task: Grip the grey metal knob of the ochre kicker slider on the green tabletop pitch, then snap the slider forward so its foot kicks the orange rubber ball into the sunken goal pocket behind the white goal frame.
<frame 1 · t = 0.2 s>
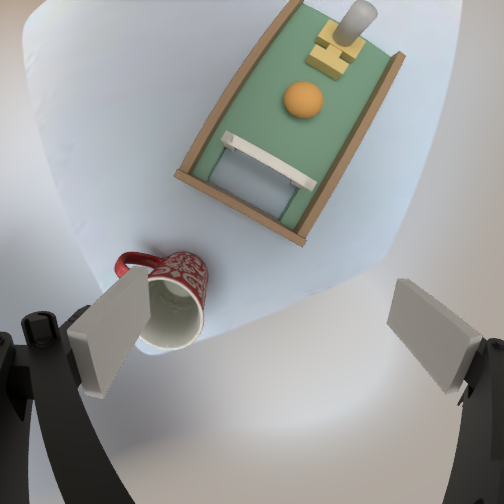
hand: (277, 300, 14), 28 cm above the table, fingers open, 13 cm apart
kicker: (344, 37, 28), point 8 cm above the table, slide at 0.0 cm
pitch: (300, 101, 37), on the table
ball: (303, 99, 33), point 4 cm above the table, touching pitch
mug: (176, 266, 43), on the table
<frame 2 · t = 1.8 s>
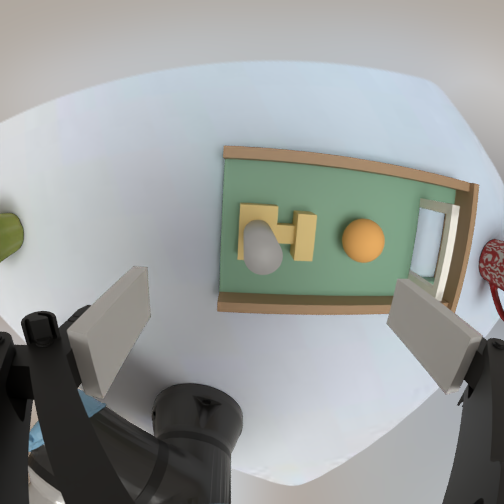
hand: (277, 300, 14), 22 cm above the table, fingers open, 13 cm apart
kicker: (280, 241, 28), point 8 cm above the table, slide at 0.0 cm
pitch: (342, 232, 36), on the table
ball: (363, 240, 32), point 4 cm above the table, touching pitch
plant pot: (12, 231, 34), on the table
mug: (486, 267, 38), on the table
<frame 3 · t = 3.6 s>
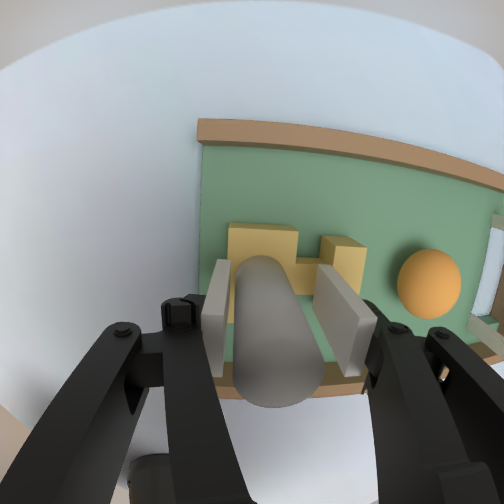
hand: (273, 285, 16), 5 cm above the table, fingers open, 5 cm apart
kicker: (305, 305, 14), point 8 cm above the table, slide at -0.1 cm
pitch: (390, 264, 22), on the table
ball: (429, 284, 18), point 4 cm above the table, touching pitch
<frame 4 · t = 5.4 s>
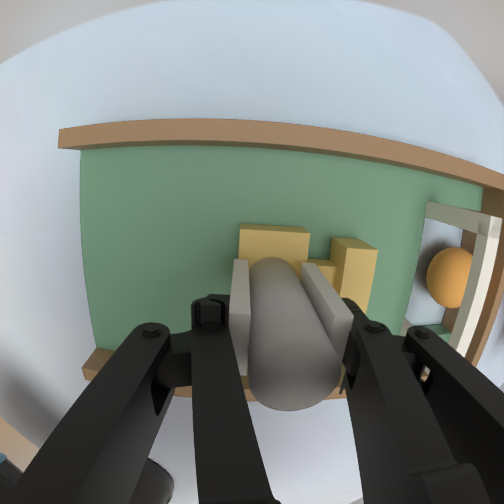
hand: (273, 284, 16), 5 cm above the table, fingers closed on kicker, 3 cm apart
kicker: (318, 307, 14), point 8 cm above the table, slide at 9.5 cm, touching gripper
pitch: (286, 261, 22), on the table
ball: (453, 277, 20), point 2 cm above the table, tilted 69°
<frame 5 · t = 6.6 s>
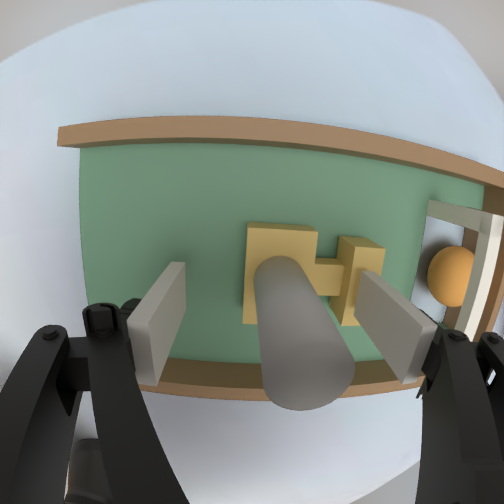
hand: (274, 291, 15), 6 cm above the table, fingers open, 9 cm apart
kicker: (327, 306, 14), point 8 cm above the table, slide at 9.9 cm
pitch: (286, 260, 21), on the table
ball: (454, 276, 20), point 2 cm above the table, tilted 70°
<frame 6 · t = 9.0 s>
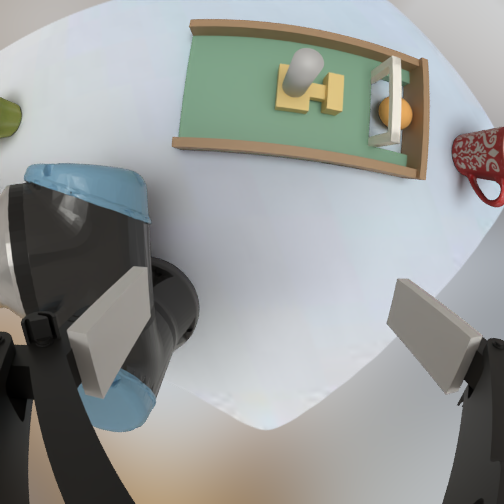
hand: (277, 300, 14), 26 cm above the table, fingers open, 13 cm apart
kicker: (316, 80, 28), point 8 cm above the table, slide at 9.9 cm
pitch: (297, 96, 36), on the table
ball: (395, 112, 34), point 2 cm above the table, tilted 72°
plant pot: (12, 120, 34), on the table
mug: (462, 163, 38), on the table
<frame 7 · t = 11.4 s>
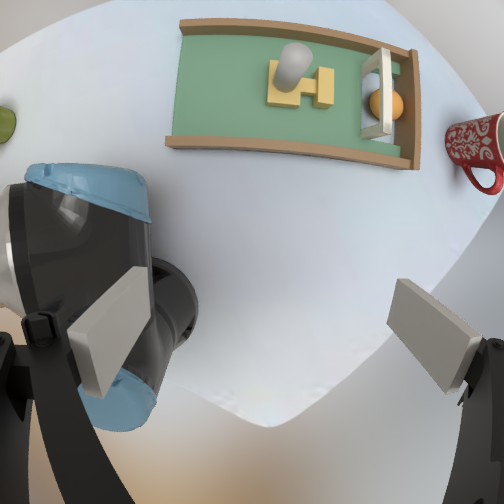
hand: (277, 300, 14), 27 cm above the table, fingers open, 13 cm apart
kicker: (306, 75, 28), point 8 cm above the table, slide at 9.9 cm
pitch: (288, 91, 36), on the table
ball: (386, 104, 34), point 2 cm above the table, tilted 75°
plant pot: (6, 126, 34), on the table
mug: (456, 153, 38), on the table
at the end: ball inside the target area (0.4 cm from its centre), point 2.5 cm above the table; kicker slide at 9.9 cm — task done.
